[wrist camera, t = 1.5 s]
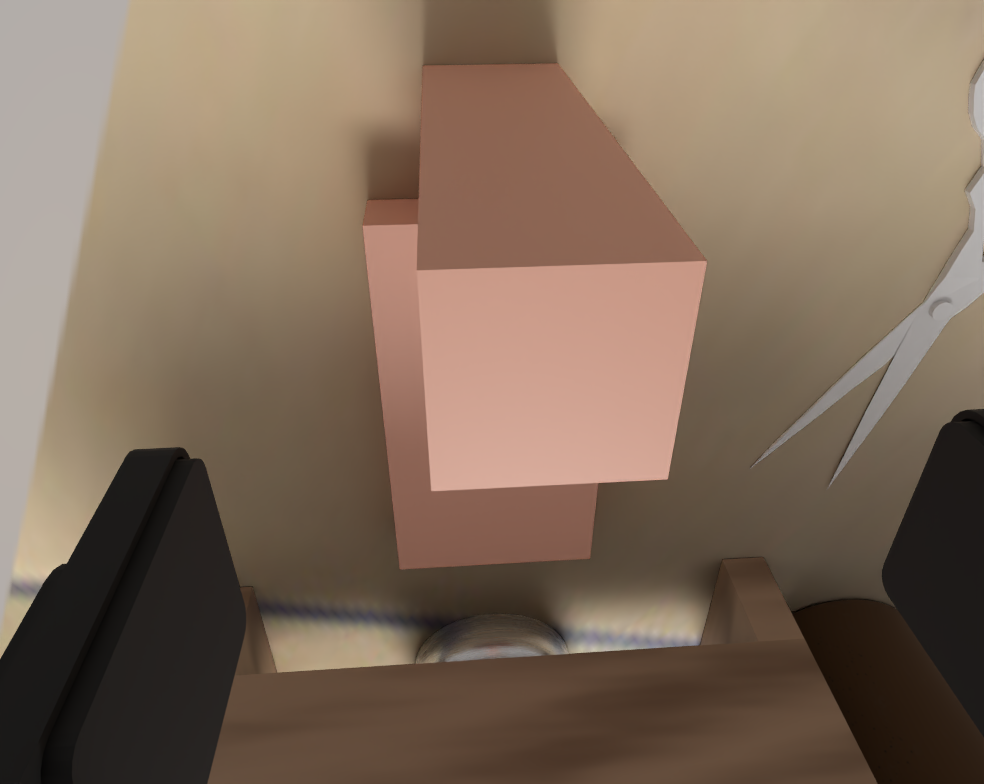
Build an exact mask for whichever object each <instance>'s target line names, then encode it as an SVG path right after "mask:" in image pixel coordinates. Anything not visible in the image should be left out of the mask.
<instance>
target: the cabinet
mask: <svg viewBox="0 0 984 784" xmlns="http://www.w3.org/2000/svg"><path fill="white" fill-rule="evenodd" d="M240 589H241V593H242V596H243V600H244V603H245V608H246V631H245V636H244V640H243V644H242V648H241V652H240V656H239V660H238V664H237V668H236V672H235V676H234V680H233V684H232V688H231V692H230V696H229V700H228V704H227V708H226V712H225V716H224V720H223V724H222V727H221V731H220V735H219V739H218V743H217V747H216V751H215V755H214V759H213V763H212V767H211V771H210V775H209V779H208V783H207V784H878V783H877V782H876V780H875V778H874V776H873V774H872V772H871V770H870V768H869V766H868V764H867V762H866V760H865V758H864V756H863V754H862V752H861V750H860V748H859V746H858V744H857V742H856V740H855V738H854V736H853V734H852V732H851V730H850V728H849V726H848V724H847V722H846V720H845V718H844V716H843V714H842V712H841V710H840V708H839V706H838V704H837V702H836V700H835V698H834V696H833V694H832V692H831V690H830V688H829V686H828V684H827V682H826V680H825V678H824V676H823V674H822V673H821V671H820V669H819V667H818V665H817V663H816V661H815V659H814V657H813V655H812V653H811V651H810V649H809V647H808V645H807V643H806V641H805V639H804V637H803V635H802V633H801V631H800V629H799V627H798V625H797V623H796V621H795V619H794V617H793V615H792V613H791V611H790V609H789V607H788V605H787V603H786V601H785V599H784V597H783V595H782V593H781V591H780V589H779V587H778V585H777V583H776V581H775V579H774V577H773V575H772V573H771V571H770V569H769V567H768V565H767V564H766V562H765V560H764V558H763V557H757V558H740V559H723V560H722V563H721V567H720V571H719V574H718V578H717V582H716V586H715V590H714V594H713V598H712V601H711V605H710V609H709V613H708V617H707V621H706V625H705V629H704V632H703V636H702V640H701V644H700V645H698V646H682V647H667V648H652V649H636V650H621V651H605V652H590V653H575V654H559V655H544V656H528V657H513V658H497V659H482V660H467V661H451V662H436V663H420V664H405V665H390V666H374V667H359V668H343V669H328V670H312V671H297V672H282V673H277V671H276V668H275V664H274V661H273V657H272V654H271V650H270V646H269V643H268V639H267V636H266V632H265V629H264V625H263V622H262V618H261V615H260V611H259V608H258V604H257V600H256V597H255V593H254V590H253V587H240Z"/></svg>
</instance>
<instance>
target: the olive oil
mask: <svg viewBox="0 0 984 784" xmlns="http://www.w3.org/2000/svg"><path fill="white" fill-rule="evenodd" d="M792 615H793V617H794V619H795V621H796V623H797V625H798V627H799V629H800V631H801V633H802V635H803V637H804V639H805V641H806V643H807V645H808V647H809V649H810V651H811V653H812V655H813V657H814V659H815V661H816V663H817V665H818V667H819V669H820V671H821V673H822V674H823V676H824V678H825V680H826V682H827V684H828V686H829V688H830V690H831V692H832V694H833V696H834V698H835V700H836V702H837V704H838V706H839V708H840V710H841V712H842V714H843V716H844V718H845V720H846V722H847V724H848V726H849V728H850V730H851V732H852V734H853V736H854V738H855V740H856V742H857V744H858V746H859V748H860V750H861V752H862V754H863V756H864V758H865V760H866V762H867V764H868V766H869V768H870V770H871V772H872V774H873V776H874V778H875V780H876V782H877V783H878V784H984V737H983V736H982V734H981V733H980V731H979V730H978V728H977V727H976V725H975V724H974V722H973V721H972V719H971V718H970V716H969V715H968V713H967V712H966V710H965V709H964V707H963V706H962V704H961V703H960V701H959V700H958V699H957V697H956V696H955V694H954V693H953V691H952V690H951V688H950V687H949V685H948V684H947V682H946V681H945V679H944V678H943V676H942V675H941V673H940V672H939V670H938V669H937V667H936V666H935V664H934V663H933V661H932V660H931V659H930V657H929V656H928V654H927V653H926V651H925V650H924V648H923V647H922V645H921V644H920V642H919V641H918V639H917V638H916V636H915V635H914V633H913V632H912V630H911V629H910V627H909V626H908V624H907V623H906V621H905V620H904V618H903V617H902V616H901V614H900V613H899V611H898V610H897V609H895V608H894V607H892V606H889V605H887V604H884V603H880V602H876V601H870V600H860V599H850V600H838V601H832V602H826V603H822V604H818V605H814V606H811V607H808V608H805V609H803V610H800V611H798V612H795V613H793V614H792Z"/></svg>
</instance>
